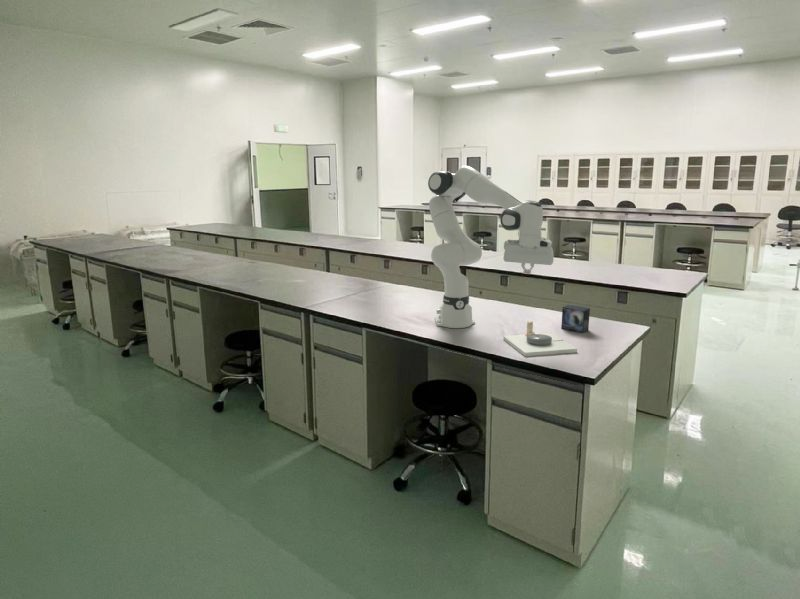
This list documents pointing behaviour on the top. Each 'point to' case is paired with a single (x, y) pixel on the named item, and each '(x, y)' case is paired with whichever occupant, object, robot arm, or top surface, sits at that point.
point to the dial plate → (532, 350)
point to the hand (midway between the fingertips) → (527, 273)
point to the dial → (536, 336)
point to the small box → (575, 318)
